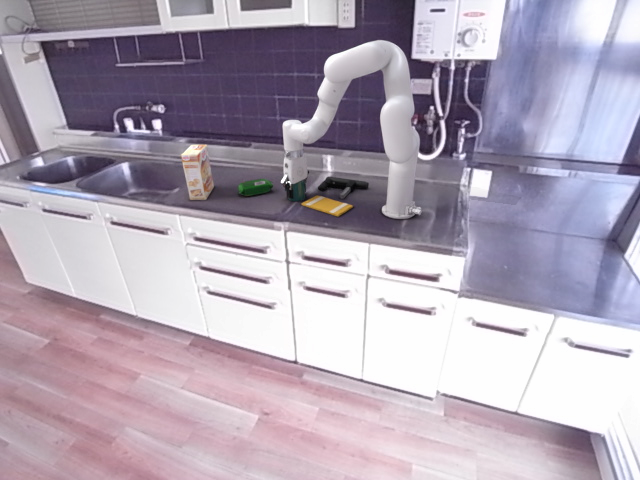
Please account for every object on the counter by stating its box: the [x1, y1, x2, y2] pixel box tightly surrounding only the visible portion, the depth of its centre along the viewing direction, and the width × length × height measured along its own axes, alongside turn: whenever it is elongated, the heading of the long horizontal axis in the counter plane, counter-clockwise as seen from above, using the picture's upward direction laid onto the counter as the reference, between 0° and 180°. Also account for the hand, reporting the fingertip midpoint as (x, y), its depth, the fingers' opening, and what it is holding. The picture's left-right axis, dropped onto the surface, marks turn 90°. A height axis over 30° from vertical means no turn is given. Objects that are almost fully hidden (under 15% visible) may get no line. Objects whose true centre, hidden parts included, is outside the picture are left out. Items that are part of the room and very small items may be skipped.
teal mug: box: [284, 179, 306, 202], centre depth 156 cm, size 10×7×8 cm
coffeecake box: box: [180, 144, 215, 201], centre depth 159 cm, size 15×7×20 cm, turn 0°
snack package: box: [237, 178, 274, 197], centre depth 161 cm, size 7×16×5 cm, turn 112°
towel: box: [301, 195, 354, 217], centre depth 149 cm, size 18×10×1 cm, turn 52°
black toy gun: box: [317, 176, 370, 200], centre depth 162 cm, size 3×20×16 cm
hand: (296, 194), depth 156 cm, fingers closed on teal mug, 7 cm apart
